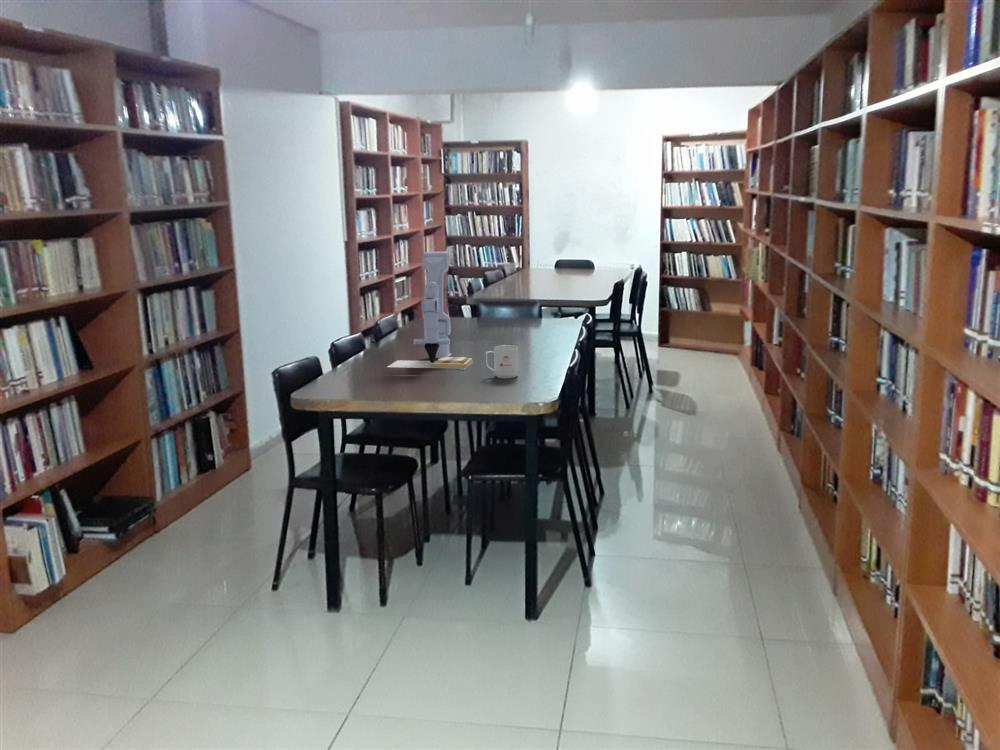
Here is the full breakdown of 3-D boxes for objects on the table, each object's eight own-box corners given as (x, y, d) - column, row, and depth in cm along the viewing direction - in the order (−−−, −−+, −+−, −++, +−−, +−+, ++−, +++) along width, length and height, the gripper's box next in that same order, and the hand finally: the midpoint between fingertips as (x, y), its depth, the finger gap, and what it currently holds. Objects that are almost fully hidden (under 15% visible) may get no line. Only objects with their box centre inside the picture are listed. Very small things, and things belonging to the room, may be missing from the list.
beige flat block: (437, 366, 348) (437, 360, 347) (442, 362, 355) (442, 356, 354) (462, 366, 346) (461, 360, 345) (466, 363, 353) (466, 357, 352)
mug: (517, 373, 333) (516, 344, 331) (519, 378, 324) (518, 348, 322) (485, 374, 332) (484, 345, 330) (486, 379, 324) (485, 349, 321)
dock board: (397, 361, 362) (397, 356, 361) (473, 362, 356) (472, 357, 355) (386, 368, 348) (386, 363, 348) (464, 369, 342) (464, 364, 342)
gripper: (410, 330, 346) (412, 363, 349) (446, 330, 344) (447, 364, 346) (415, 327, 353) (417, 360, 356) (450, 327, 350) (452, 360, 353)
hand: (432, 362), depth 352 cm, fingers closed
